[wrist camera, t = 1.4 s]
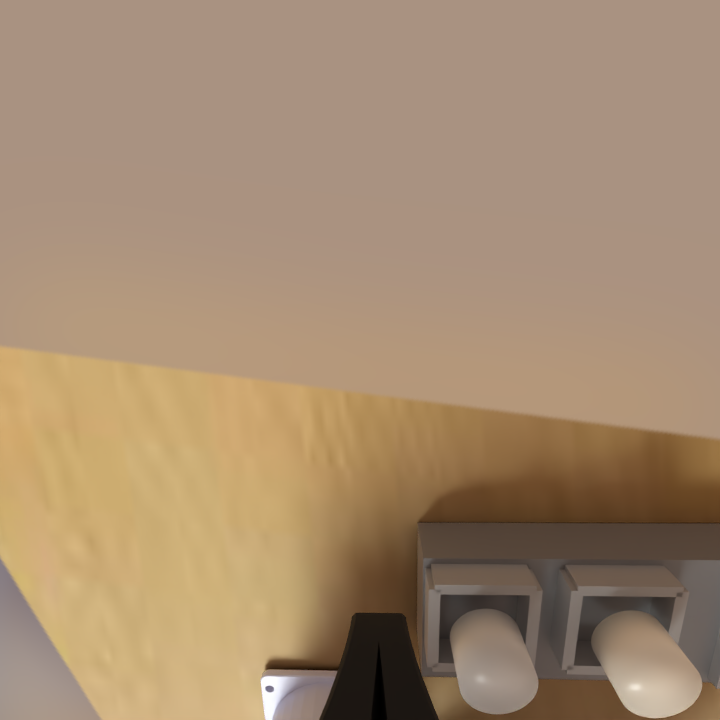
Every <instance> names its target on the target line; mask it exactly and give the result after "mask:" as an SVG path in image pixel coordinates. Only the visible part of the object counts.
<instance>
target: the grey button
mask: <svg viewBox="0 0 720 720" xmlns="http://www.w3.org/2000/svg"><path fill="white" fill-rule="evenodd" d="M450 643H451V648H452V653H453V659H454V664H455V669H456V674H457V679H458V685H459V690H460V693H461V696H462V697H463V699H464V700H465V701H466V703H468V704H469V705H470V706H471V707H473V708H474V709H476V710H478V711H481V712H484V713H489V714H507V713H511V712H514V711H517V710H519V709H521V708H523V707H525V706H526V705H527V704H529V703H530V702H531V701H532V699H533V698H534V697H535V695H536V693H537V690H538V677H537V674H536V671H535V669H534V666H533V664H532V661H531V658H530V656H529V653H528V651H527V648H526V646H525V643H524V640H523V638H522V635H521V633H520V630H519V627H518V625H517V623H516V622H515V621H514V620H513V619H512V618H511V617H510V616H509V615H507V614H506V613H504V612H501V611H499V610H495V609H477V610H473V611H470V612H468V613H466V614H464V615H462V616H461V617H460V618H459V619H457V621H456V622H455V623H454V624H453V626H452V628H451V631H450Z"/></svg>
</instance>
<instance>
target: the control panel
mask: <svg viewBox="0 0 720 720" xmlns="http://www.w3.org/2000/svg"><path fill="white" fill-rule="evenodd" d="M477 609H495V610H499V611H501V612H504V613H506V614H507V615H509V616H510V617H511V618H512V619H513V620H514V621H515V622H516V623H517V625H518V627H519V630H520V633H521V635H522V638H523V640H524V643H525V646H526V648H527V651H528V653H529V656H530V658H531V661H532V664H533V666H534V669H535V671H536V674H537V677H538V679H567V680H609V678H608V677H607V675H606V673H605V671H604V669H603V668H602V666H601V664H600V662H599V660H598V659H597V657H596V655H595V653H594V651H593V649H592V646H591V637H592V634H593V631H594V630H595V628H596V627H597V625H598V624H599V623H600V622H601V621H602V620H604V619H605V618H607V617H608V616H610V615H612V614H615V613H618V612H622V611H630V610H634V611H642V612H645V613H648V614H650V615H652V616H654V617H655V618H656V619H657V620H658V621H659V622H660V623H661V624H662V626H663V627H664V628H665V630H666V631H667V632H668V633H669V635H670V636H671V637H672V638H673V640H674V641H675V642H676V644H677V645H678V646H679V647H680V649H681V650H682V651H683V653H684V654H685V655H686V656H687V658H688V659H689V660H690V662H691V663H692V664H693V665H694V667H695V668H696V669H697V670H698V672H699V674H700V676H701V679H702V682H712V684H713V685H714V686H715V687H716V689H720V523H418V548H417V639H418V648H419V657H420V666H421V675H422V677H457V674H456V669H455V664H454V659H453V653H452V648H451V643H450V631H451V628H452V626H453V624H454V623H455V622H456V621H457V619H459V618H460V617H461V616H462V615H464V614H466V613H468V612H470V611H473V610H477Z"/></svg>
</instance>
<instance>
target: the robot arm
mask: <svg viewBox="0 0 720 720" xmlns="http://www.w3.org/2000/svg"><path fill="white" fill-rule="evenodd" d="M261 689H262V697H263V706H264V714H265V720H439V719H438V716H437V714H436V712H435V709H434V707H433V704H432V701H431V699H430V696H429V694H428V691H427V688H426V686H425V683H424V681H423V678H422V675H421V672H420V669H419V666H418V663H417V660H416V657H415V654H414V651H413V647H412V644H411V640H410V636H409V632H408V627H407V622H406V617H405V616H404V615H403V614H399V613H356V614H354V615H353V616H352V620H351V626H350V631H349V635H348V639H347V643H346V646H345V650H344V653H343V656H342V659H341V662H340V666H339V669H338V671H328V670H278V669H269V670H266V671H264V672H263V673H262V677H261Z"/></svg>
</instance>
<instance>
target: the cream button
mask: <svg viewBox="0 0 720 720" xmlns="http://www.w3.org/2000/svg"><path fill="white" fill-rule="evenodd" d="M591 646H592V649H593V651H594V653H595V655H596V657H597V659H598V660H599V662H600V664H601V666H602V668H603V669H604V671H605V673H606V675H607V677H608V678H609V680H610V682H611V684H612V686H613V687H614V689H615V691H616V693H617V695H618V696H619V698H620V700H621V702H622V703H623V705H624V706H625V707H626V708H627V709H628V710H629V711H631V712H632V713H634V714H636V715H639V716H642V717H647V718H665V717H669V716H673V715H676V714H678V713H680V712H682V711H684V710H686V709H687V708H689V707H690V706H691V705H692V704H693V703H694V702H695V701H696V700H697V698H698V697H699V695H700V693H701V690H702V679H701V676H700V674H699V672H698V670H697V669H696V668H695V667H694V665H693V664H692V663H691V662H690V660H689V659H688V658H687V656H686V655H685V654H684V653H683V651H682V650H681V649H680V647H679V646H678V645H677V644H676V642H675V641H674V640H673V638H672V637H671V636H670V635H669V633H668V632H667V631H666V630H665V628H664V627H663V626H662V624H661V623H660V622H659V621H658V620H657V619H656V618H655V617H654V616H652V615H650V614H648V613H645V612H642V611H634V610H630V611H622V612H618V613H615V614H612V615H610V616H608V617H607V618H605V619H604V620H602V621H601V622H600V623H599V624H598V625H597V627H596V628H595V630H594V631H593V634H592V637H591Z"/></svg>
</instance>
